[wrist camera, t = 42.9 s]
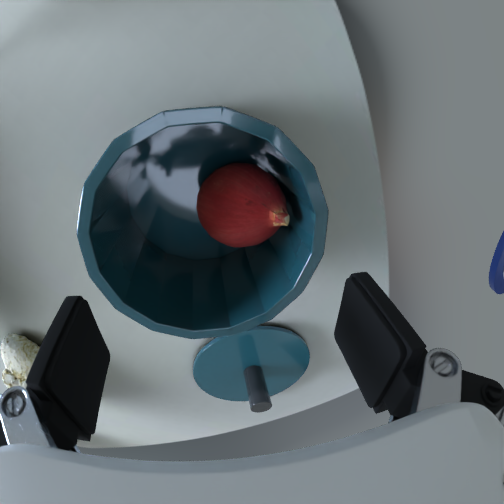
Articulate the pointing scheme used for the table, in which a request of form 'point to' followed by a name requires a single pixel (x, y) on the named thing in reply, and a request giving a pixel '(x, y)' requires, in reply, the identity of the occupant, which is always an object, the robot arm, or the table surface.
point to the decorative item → (17, 359)
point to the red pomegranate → (241, 205)
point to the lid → (251, 365)
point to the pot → (196, 225)
